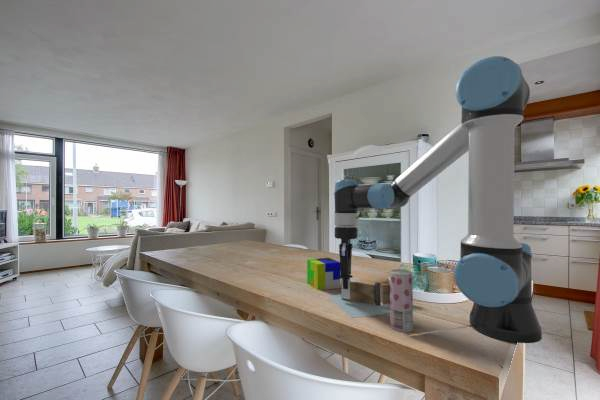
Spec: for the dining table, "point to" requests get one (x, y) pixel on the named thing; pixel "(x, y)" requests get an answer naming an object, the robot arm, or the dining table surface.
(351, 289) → the fence panel
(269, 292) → the dining table surface
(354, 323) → the dining table surface
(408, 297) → the beverage can
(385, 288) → the fence fixed
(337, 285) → the puzzle toy
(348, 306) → the card
